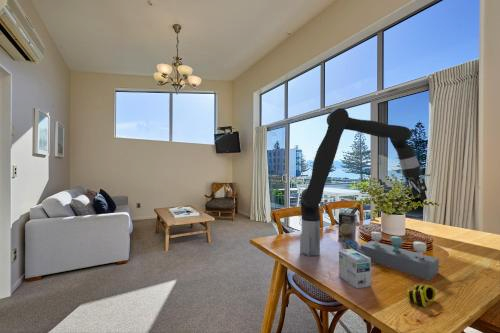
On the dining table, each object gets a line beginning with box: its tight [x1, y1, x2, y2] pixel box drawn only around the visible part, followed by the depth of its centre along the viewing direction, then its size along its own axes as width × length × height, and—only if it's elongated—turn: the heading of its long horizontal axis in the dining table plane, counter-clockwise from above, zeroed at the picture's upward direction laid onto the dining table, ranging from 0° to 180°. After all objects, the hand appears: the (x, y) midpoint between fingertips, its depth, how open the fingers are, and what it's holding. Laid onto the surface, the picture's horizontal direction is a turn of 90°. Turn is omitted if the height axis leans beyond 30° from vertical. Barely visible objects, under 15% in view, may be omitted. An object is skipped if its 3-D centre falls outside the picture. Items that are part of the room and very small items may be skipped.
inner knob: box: [370, 231, 383, 247], centre depth 114 cm, size 4×4×8 cm
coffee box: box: [337, 211, 357, 243], centre depth 139 cm, size 9×6×16 cm
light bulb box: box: [338, 248, 372, 289], centre depth 91 cm, size 11×7×11 cm, turn 17°
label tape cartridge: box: [345, 238, 365, 255], centre depth 103 cm, size 9×4×12 cm, turn 9°
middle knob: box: [390, 235, 403, 253], centre depth 106 cm, size 4×4×8 cm
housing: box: [359, 240, 440, 281], centre depth 106 cm, size 11×28×6 cm, turn 36°
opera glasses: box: [406, 284, 437, 308], centre depth 78 cm, size 10×5×5 cm, turn 124°
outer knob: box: [412, 241, 427, 260], centre depth 99 cm, size 4×4×8 cm
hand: (420, 198), depth 115 cm, fingers open, 8 cm apart
